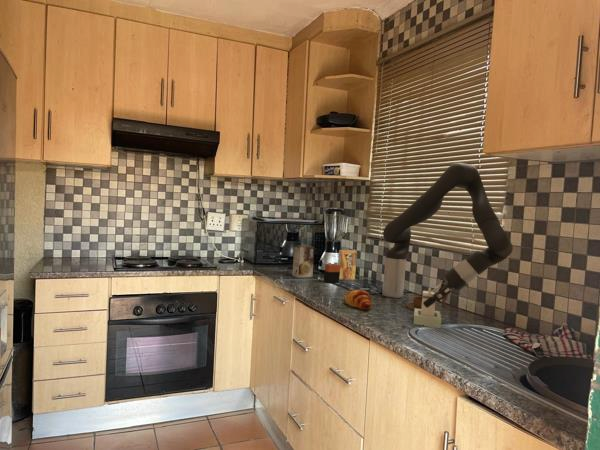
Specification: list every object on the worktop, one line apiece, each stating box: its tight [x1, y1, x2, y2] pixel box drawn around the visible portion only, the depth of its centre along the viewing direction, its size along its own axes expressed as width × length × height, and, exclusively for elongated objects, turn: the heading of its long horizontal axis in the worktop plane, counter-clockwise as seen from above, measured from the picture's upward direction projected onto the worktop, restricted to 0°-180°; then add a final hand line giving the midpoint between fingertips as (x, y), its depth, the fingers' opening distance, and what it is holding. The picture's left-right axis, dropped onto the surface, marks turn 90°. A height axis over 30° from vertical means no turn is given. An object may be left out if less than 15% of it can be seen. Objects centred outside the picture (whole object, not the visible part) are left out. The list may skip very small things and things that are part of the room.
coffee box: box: [292, 245, 315, 278], centre depth 234 cm, size 9×6×16 cm
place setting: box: [406, 294, 449, 311], centre depth 180 cm, size 18×20×6 cm
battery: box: [323, 262, 340, 284], centre depth 224 cm, size 4×7×10 cm, turn 113°
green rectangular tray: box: [413, 307, 443, 329], centre depth 160 cm, size 12×9×3 cm
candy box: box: [337, 249, 358, 281], centre depth 237 cm, size 9×4×15 cm, turn 107°
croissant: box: [344, 289, 372, 310], centre depth 178 cm, size 21×10×8 cm, turn 16°
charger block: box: [421, 287, 437, 316], centre depth 159 cm, size 5×5×12 cm
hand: (424, 303), depth 160 cm, fingers open, 8 cm apart
